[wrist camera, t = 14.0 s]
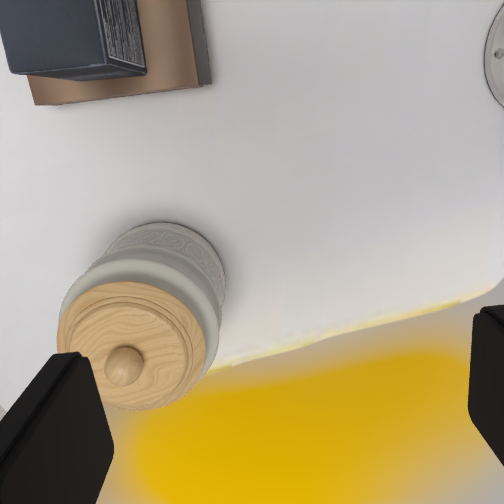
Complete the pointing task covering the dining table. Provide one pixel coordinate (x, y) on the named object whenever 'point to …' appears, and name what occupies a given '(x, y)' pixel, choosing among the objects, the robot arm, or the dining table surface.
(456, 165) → the dining table surface
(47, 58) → the small box
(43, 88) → the dock
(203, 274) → the jar
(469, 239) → the dining table surface
